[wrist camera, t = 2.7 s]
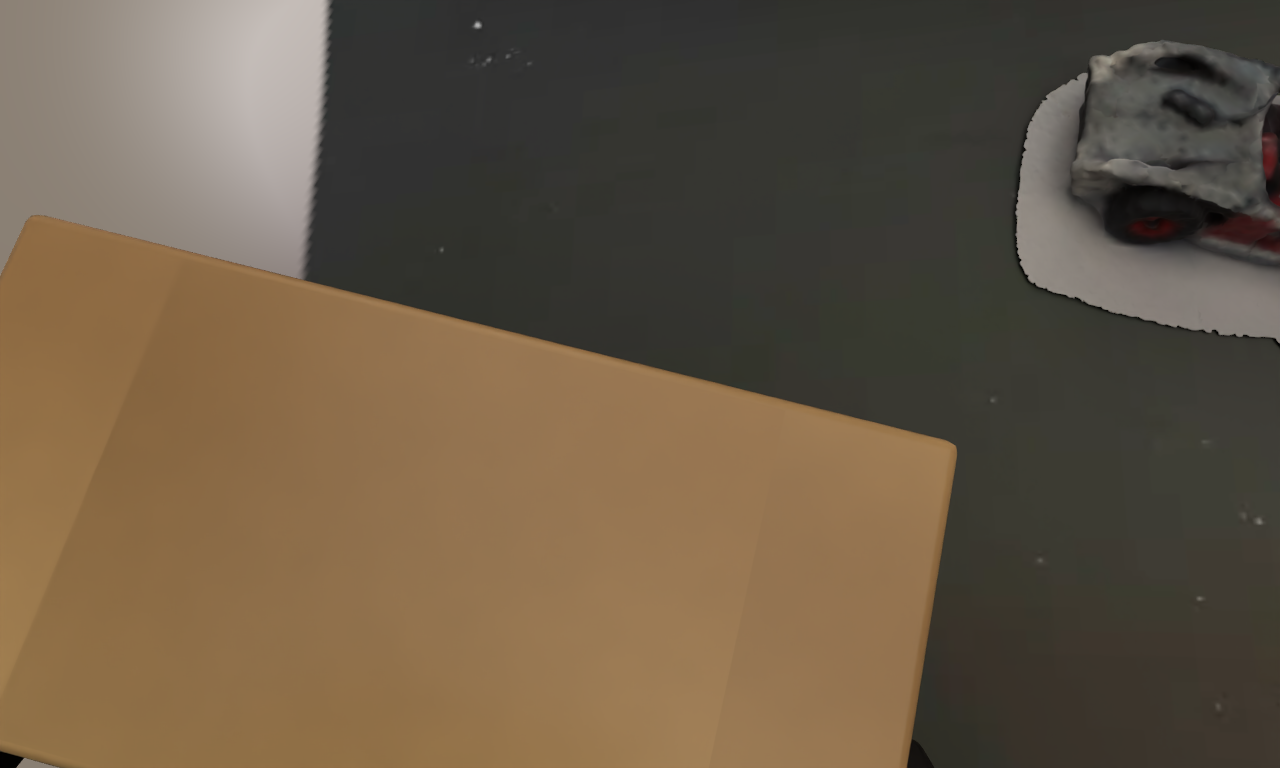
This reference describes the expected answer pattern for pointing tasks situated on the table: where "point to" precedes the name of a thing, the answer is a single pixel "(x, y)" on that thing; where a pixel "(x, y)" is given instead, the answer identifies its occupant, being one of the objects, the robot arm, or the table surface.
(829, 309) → the table surface
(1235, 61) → the toy car
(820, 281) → the table surface
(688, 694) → the letter I
